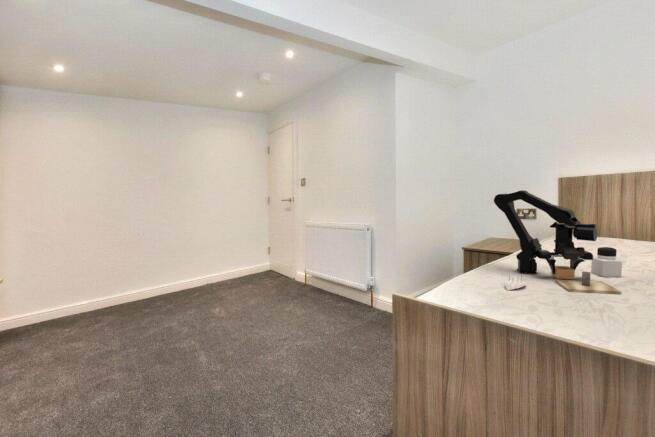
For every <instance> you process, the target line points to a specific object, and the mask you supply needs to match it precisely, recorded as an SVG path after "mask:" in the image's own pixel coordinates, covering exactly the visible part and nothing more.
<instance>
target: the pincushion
mask: <svg viewBox="0 0 655 437" xmlns="http://www.w3.org/2000/svg"><path fill="white" fill-rule="evenodd" d="M520 276H521V278H520V279H519V278H517V279H516V278H515V279H510V277H511V274H509V276H508V278H509V279H508V280H507V281H506V282H505V283H504V286H505V288H506V290H507V291H511V290H515V289H517V290H518V289H519V288H523V287H525V286H526V285H527V283H526V282H524V281H523V280H522V278H523V277H522V274H521V275H520Z"/></svg>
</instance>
